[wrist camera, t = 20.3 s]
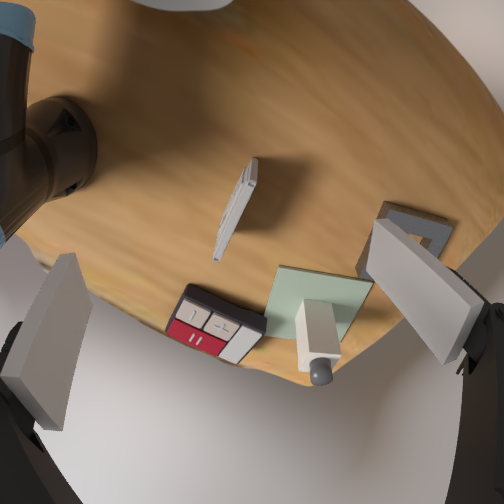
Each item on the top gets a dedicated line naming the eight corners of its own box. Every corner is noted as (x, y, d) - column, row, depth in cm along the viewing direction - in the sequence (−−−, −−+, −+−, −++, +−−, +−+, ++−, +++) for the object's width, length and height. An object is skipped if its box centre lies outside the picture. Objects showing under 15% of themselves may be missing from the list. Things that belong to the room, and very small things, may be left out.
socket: (355, 267, 48) (358, 277, 46) (383, 200, 42) (389, 209, 40) (415, 278, 49) (420, 287, 47) (446, 219, 43) (453, 227, 40)
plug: (295, 319, 55) (300, 387, 43) (303, 298, 52) (311, 369, 40) (321, 322, 55) (331, 389, 43) (331, 302, 52) (344, 371, 41)
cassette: (228, 233, 46) (221, 265, 40) (215, 228, 45) (207, 260, 39) (262, 160, 39) (261, 183, 33) (248, 154, 39) (245, 176, 33)
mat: (258, 332, 58) (257, 334, 57) (278, 265, 49) (278, 267, 48) (338, 342, 59) (338, 344, 58) (372, 280, 50) (372, 283, 49)
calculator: (181, 297, 48) (266, 336, 51) (189, 280, 52) (268, 318, 54) (162, 335, 54) (237, 368, 56) (169, 318, 58) (240, 350, 60)
